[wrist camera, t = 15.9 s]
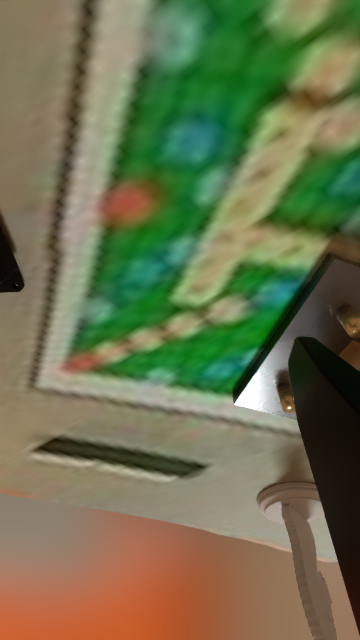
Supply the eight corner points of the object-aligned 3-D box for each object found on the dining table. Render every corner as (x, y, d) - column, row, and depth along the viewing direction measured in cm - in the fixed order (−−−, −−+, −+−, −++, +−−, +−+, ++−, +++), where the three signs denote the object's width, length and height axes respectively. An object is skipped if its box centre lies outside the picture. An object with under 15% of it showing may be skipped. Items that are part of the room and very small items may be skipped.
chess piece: (274, 517, 45) (306, 667, 33) (244, 493, 40) (268, 655, 28) (336, 503, 41) (399, 663, 29) (311, 474, 37) (372, 650, 25)
